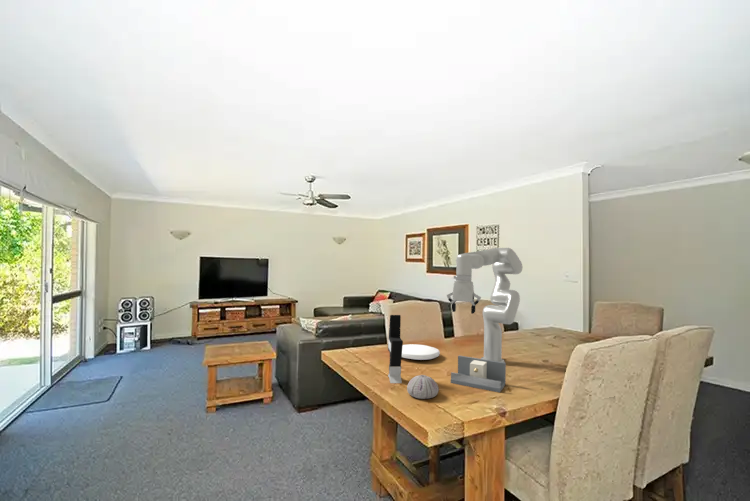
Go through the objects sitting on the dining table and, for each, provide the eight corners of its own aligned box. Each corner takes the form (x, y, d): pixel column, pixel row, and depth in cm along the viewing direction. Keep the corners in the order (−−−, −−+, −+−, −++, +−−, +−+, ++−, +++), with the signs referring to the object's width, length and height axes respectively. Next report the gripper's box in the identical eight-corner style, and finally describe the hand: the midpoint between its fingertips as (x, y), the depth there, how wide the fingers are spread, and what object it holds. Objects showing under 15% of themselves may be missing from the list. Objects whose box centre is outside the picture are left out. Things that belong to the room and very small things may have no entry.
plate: (397, 341, 230) (440, 344, 225) (396, 352, 229) (440, 355, 224) (390, 347, 203) (439, 351, 198) (389, 359, 202) (438, 363, 197)
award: (386, 374, 180) (388, 312, 180) (397, 374, 180) (398, 312, 181) (390, 384, 164) (392, 317, 165) (402, 384, 165) (403, 317, 166)
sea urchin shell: (445, 397, 151) (445, 377, 152) (420, 403, 144) (420, 383, 144) (424, 387, 162) (424, 369, 163) (399, 393, 155) (400, 373, 155)
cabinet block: (473, 376, 173) (474, 359, 173) (486, 379, 170) (486, 361, 170) (469, 381, 166) (469, 363, 167) (482, 384, 163) (482, 366, 164)
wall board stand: (458, 375, 179) (458, 355, 179) (505, 384, 168) (505, 362, 168) (450, 382, 169) (450, 361, 169) (499, 392, 157) (500, 369, 158)
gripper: (444, 278, 186) (444, 311, 186) (479, 279, 178) (478, 315, 177) (449, 277, 193) (449, 310, 192) (482, 279, 184) (482, 313, 184)
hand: (463, 312), depth 185 cm, fingers open, 9 cm apart
